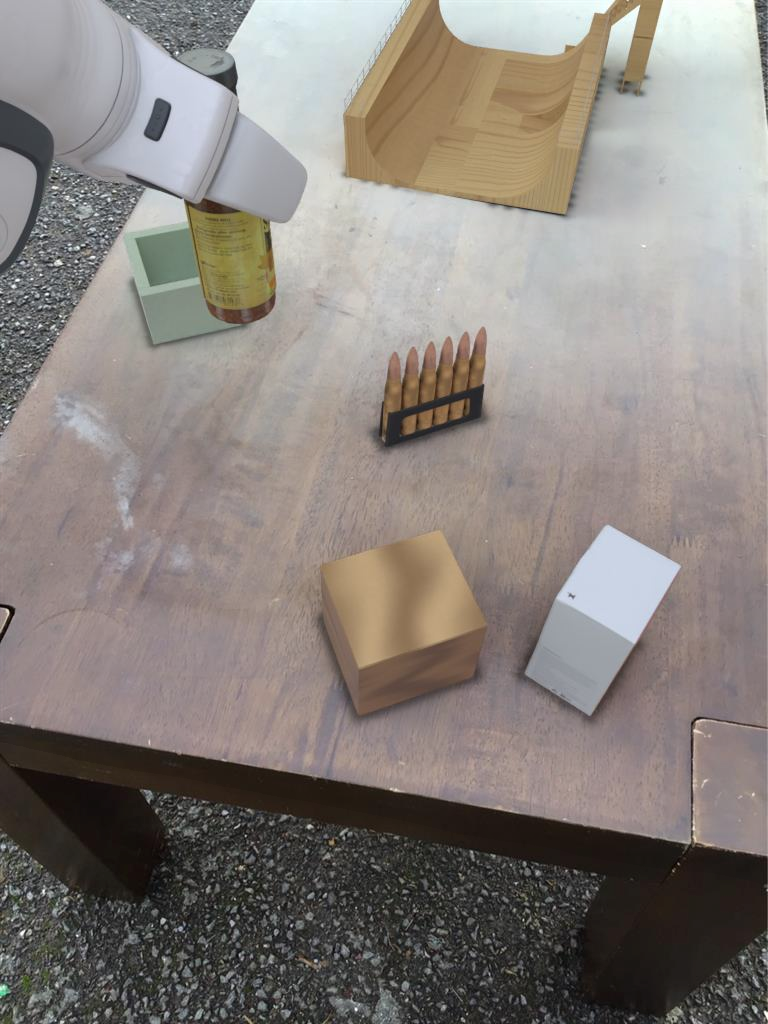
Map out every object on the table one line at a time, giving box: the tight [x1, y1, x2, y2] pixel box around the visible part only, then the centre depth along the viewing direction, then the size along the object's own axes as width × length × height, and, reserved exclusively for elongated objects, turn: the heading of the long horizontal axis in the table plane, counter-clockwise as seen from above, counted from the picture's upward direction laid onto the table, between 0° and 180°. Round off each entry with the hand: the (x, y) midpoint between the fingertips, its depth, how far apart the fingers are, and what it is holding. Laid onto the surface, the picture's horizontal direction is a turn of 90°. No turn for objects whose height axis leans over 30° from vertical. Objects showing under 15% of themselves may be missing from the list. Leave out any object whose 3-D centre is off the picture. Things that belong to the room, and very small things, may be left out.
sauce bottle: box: [176, 47, 277, 325], centre depth 62 cm, size 7×6×20 cm
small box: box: [523, 524, 682, 717], centre depth 63 cm, size 8×6×13 cm
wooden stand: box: [319, 529, 489, 717], centre depth 64 cm, size 10×9×9 cm
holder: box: [121, 220, 244, 346], centre depth 90 cm, size 10×11×7 cm
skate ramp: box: [342, 0, 664, 215], centre depth 111 cm, size 40×35×16 cm
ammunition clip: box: [378, 326, 488, 448], centre depth 78 cm, size 11×2×12 cm, turn 114°
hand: (228, 174), depth 61 cm, fingers closed on sauce bottle, 6 cm apart
